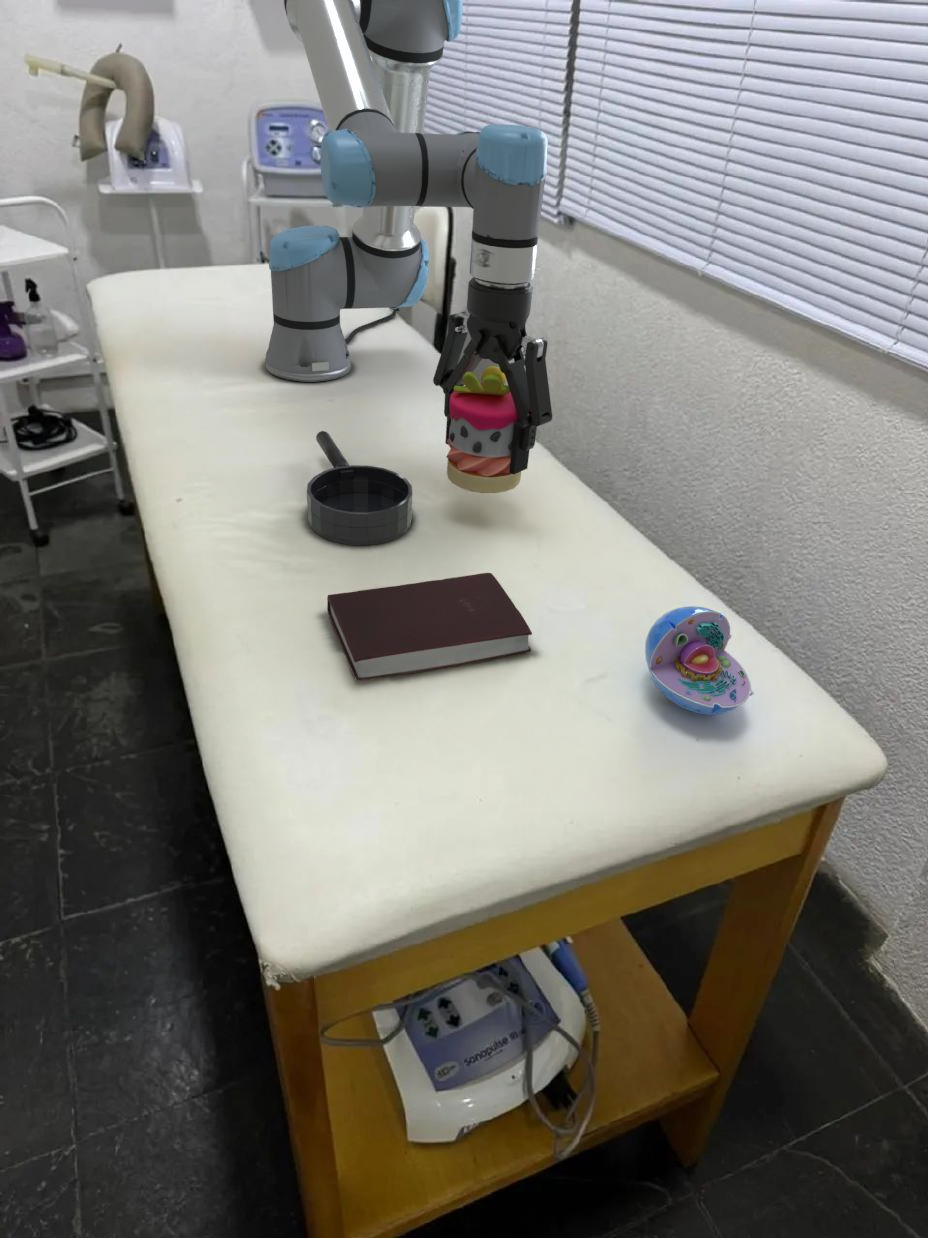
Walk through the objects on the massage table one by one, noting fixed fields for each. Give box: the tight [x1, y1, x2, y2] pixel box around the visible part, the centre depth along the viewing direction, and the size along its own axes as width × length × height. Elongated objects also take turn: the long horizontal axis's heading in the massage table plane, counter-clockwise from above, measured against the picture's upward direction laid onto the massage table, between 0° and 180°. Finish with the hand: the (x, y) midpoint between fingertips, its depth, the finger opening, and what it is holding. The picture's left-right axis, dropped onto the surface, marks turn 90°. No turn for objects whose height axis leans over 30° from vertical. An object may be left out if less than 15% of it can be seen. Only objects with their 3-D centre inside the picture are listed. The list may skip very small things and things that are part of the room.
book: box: [326, 572, 533, 681], centre depth 91 cm, size 12×19×3 cm, turn 110°
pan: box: [306, 464, 413, 546], centre depth 110 cm, size 13×13×4 cm
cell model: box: [644, 605, 755, 716], centre depth 84 cm, size 10×12×10 cm
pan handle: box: [315, 430, 354, 479], centre depth 119 cm, size 13×2×2 cm, turn 23°
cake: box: [445, 365, 529, 494], centre depth 109 cm, size 10×11×15 cm
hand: (485, 455), depth 111 cm, fingers closed on cake, 10 cm apart
